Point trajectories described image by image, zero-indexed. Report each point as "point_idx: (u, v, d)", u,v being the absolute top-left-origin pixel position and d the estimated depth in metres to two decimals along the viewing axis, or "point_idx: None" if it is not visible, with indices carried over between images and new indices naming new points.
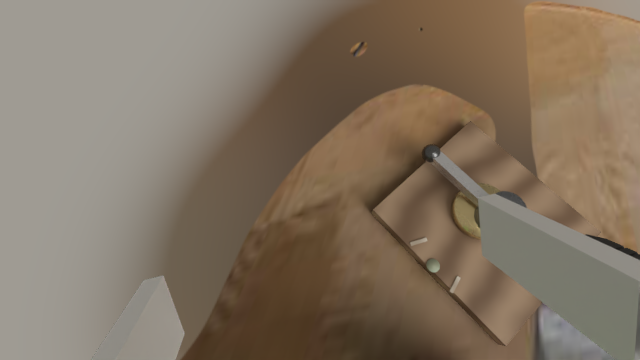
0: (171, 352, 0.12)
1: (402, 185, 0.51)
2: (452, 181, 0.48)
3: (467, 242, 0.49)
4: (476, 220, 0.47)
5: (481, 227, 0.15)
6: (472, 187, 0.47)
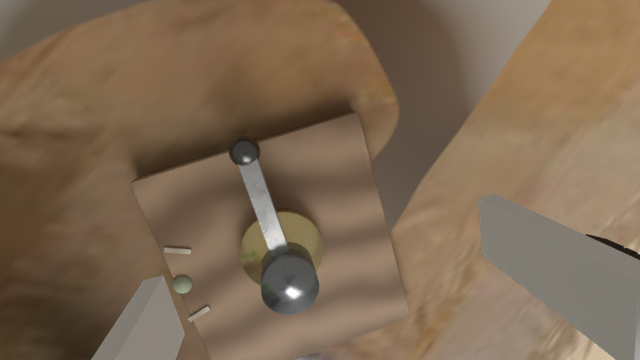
0: (171, 353, 0.12)
1: (194, 166, 0.32)
2: None
3: (245, 273, 0.35)
4: (261, 263, 0.33)
5: (481, 227, 0.15)
6: (271, 231, 0.30)
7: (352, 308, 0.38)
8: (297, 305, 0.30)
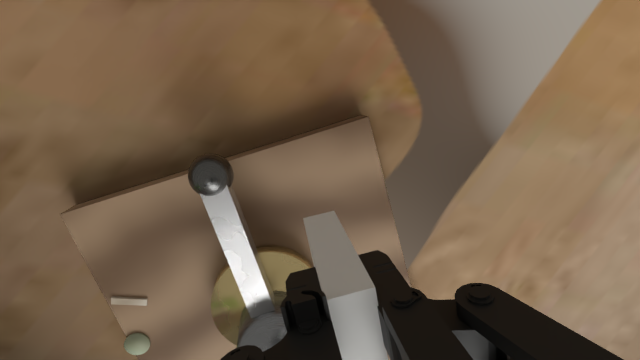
0: None
1: (147, 191, 0.24)
2: None
3: None
4: (240, 319, 0.25)
5: None
6: (249, 284, 0.22)
7: None
8: None
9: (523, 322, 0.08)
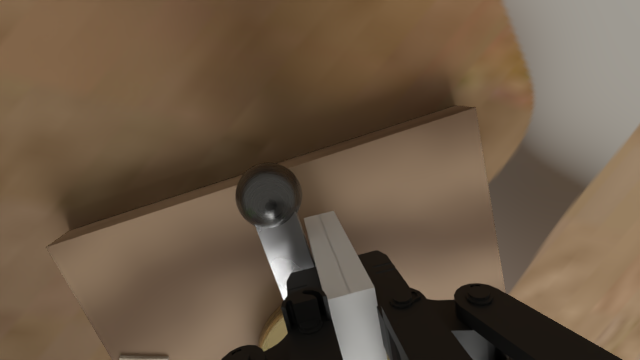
0: None
1: (169, 213, 0.17)
2: None
3: None
4: None
5: None
6: None
7: None
8: None
9: (522, 322, 0.08)
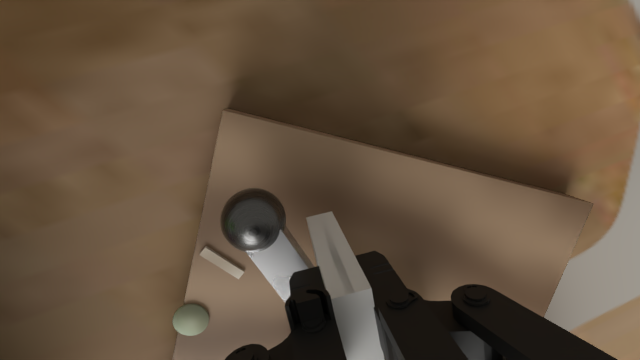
0: None
1: (340, 145, 0.17)
2: None
3: None
4: None
5: None
6: None
7: None
8: None
9: (518, 324, 0.08)
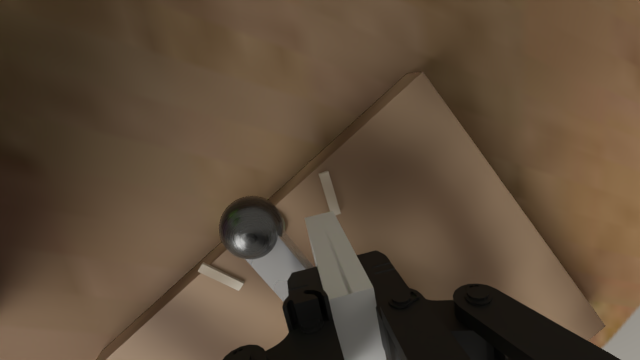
0: None
1: (480, 160, 0.19)
2: None
3: None
4: None
5: None
6: None
7: None
8: None
9: (521, 323, 0.08)
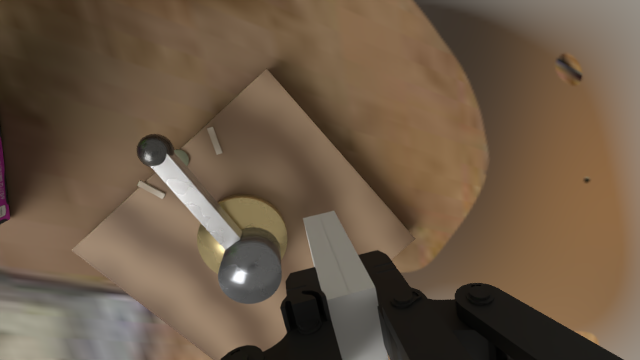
0: None
1: (309, 122, 0.31)
2: None
3: None
4: None
5: None
6: (213, 224, 0.28)
7: (228, 328, 0.35)
8: (264, 290, 0.28)
9: (523, 323, 0.08)
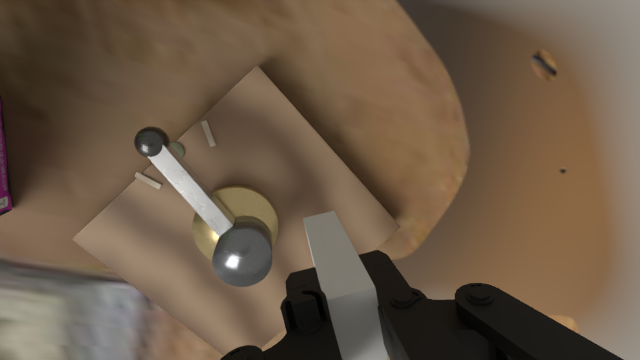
0: None
1: (298, 116, 0.33)
2: None
3: None
4: None
5: None
6: (207, 211, 0.30)
7: (223, 314, 0.37)
8: (255, 274, 0.30)
9: (523, 323, 0.08)
